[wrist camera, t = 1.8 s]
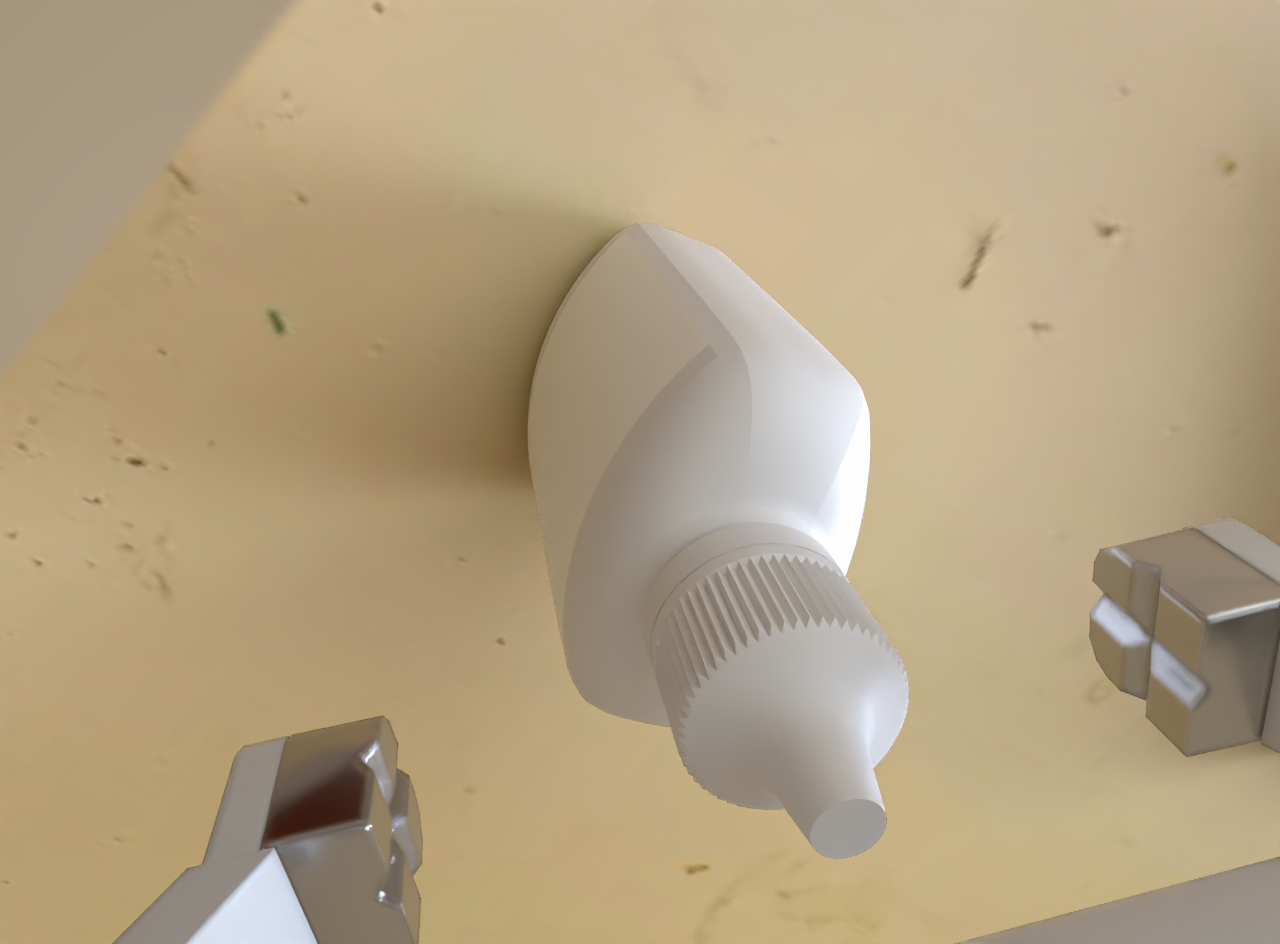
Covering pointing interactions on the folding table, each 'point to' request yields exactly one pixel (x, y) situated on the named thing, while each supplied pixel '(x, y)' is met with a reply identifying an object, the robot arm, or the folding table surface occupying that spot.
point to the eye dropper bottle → (715, 532)
